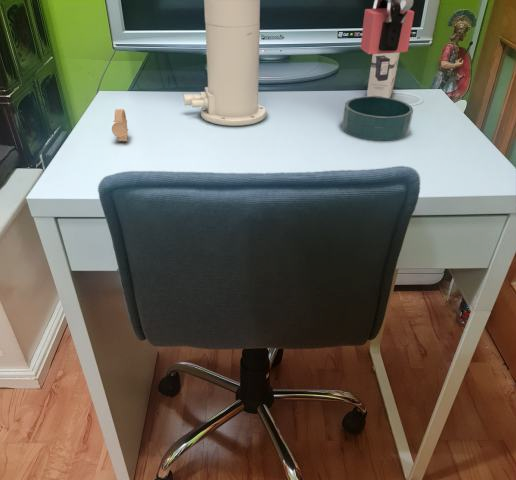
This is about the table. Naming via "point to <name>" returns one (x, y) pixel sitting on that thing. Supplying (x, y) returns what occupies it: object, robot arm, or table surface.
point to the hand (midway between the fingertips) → (382, 45)
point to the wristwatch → (120, 125)
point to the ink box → (382, 74)
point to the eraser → (374, 28)
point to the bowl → (377, 118)
